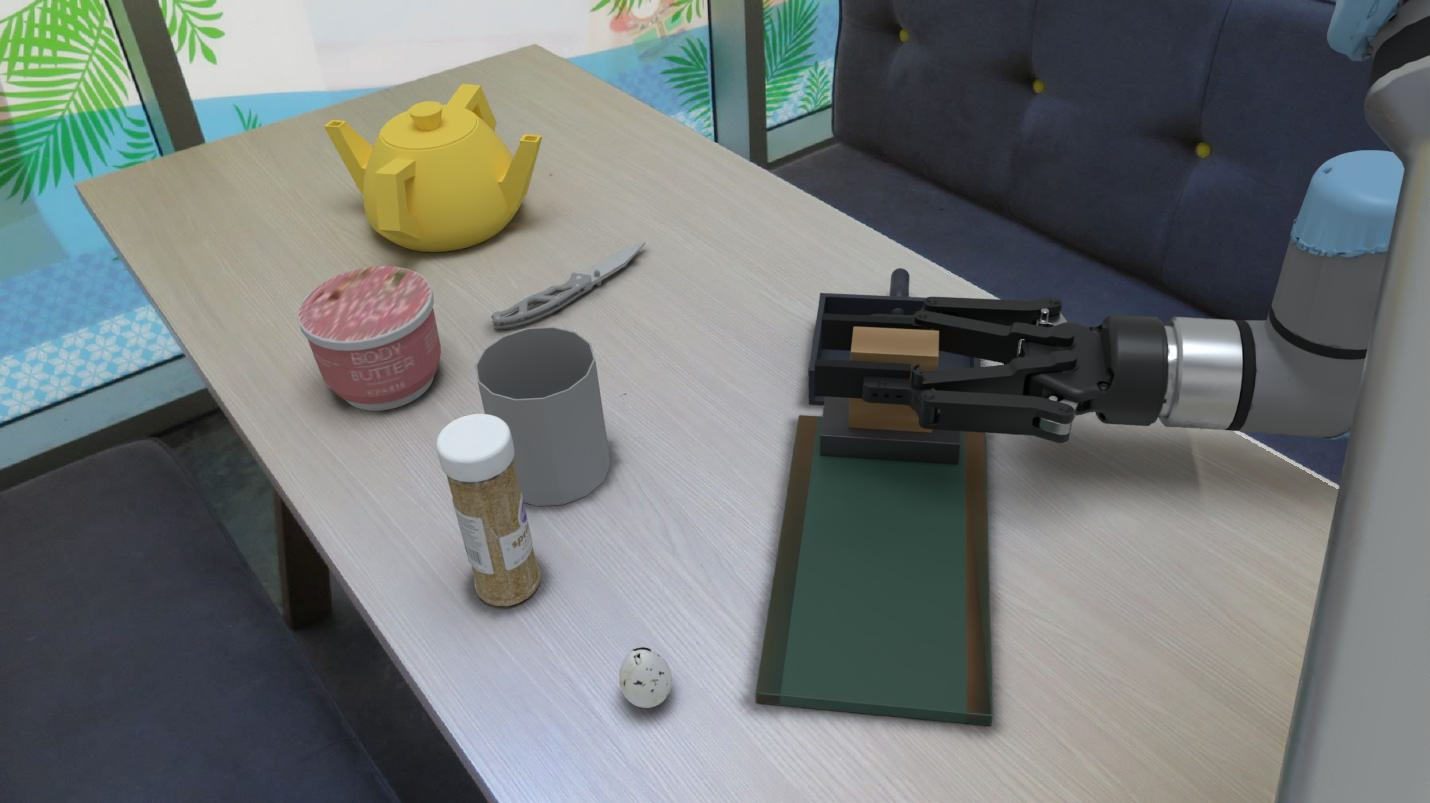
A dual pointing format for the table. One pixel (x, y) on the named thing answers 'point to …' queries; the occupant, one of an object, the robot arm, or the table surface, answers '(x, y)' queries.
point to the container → (373, 335)
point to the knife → (575, 284)
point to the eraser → (887, 406)
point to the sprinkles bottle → (489, 507)
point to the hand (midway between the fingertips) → (819, 353)
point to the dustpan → (867, 306)
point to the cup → (548, 411)
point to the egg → (645, 677)
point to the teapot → (438, 173)
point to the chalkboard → (881, 586)
